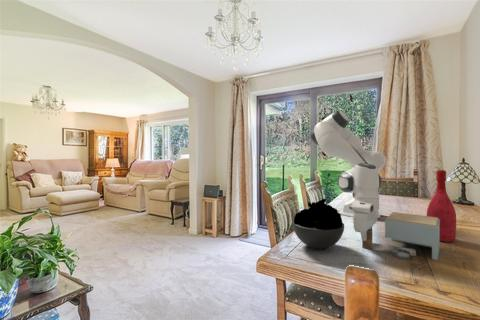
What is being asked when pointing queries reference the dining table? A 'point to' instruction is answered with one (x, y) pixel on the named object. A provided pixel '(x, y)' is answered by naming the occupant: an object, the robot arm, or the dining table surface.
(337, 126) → the robot arm
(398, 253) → the steel puck
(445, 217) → the wine bottle
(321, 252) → the dining table surface
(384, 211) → the dining table surface
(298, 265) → the dining table surface
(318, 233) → the coal bowl
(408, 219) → the cabinet
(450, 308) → the dining table surface
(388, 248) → the wood-handled metal tool
